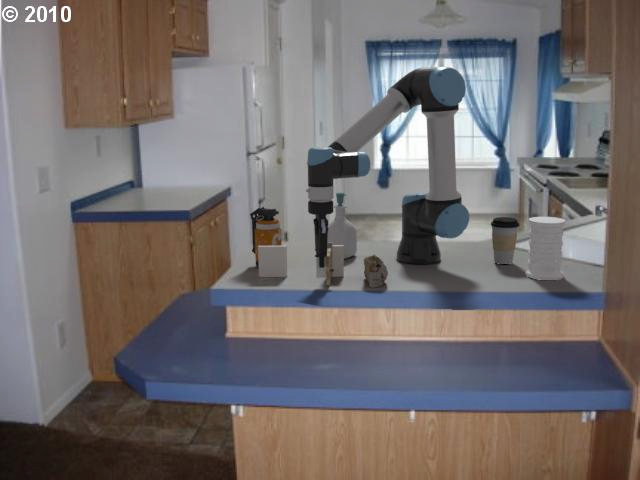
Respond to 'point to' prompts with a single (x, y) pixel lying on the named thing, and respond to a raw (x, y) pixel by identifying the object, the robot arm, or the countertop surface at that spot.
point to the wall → (276, 260)
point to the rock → (375, 271)
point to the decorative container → (545, 248)
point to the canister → (265, 229)
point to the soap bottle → (342, 229)
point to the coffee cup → (504, 239)
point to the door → (328, 267)
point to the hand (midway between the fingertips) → (321, 276)
